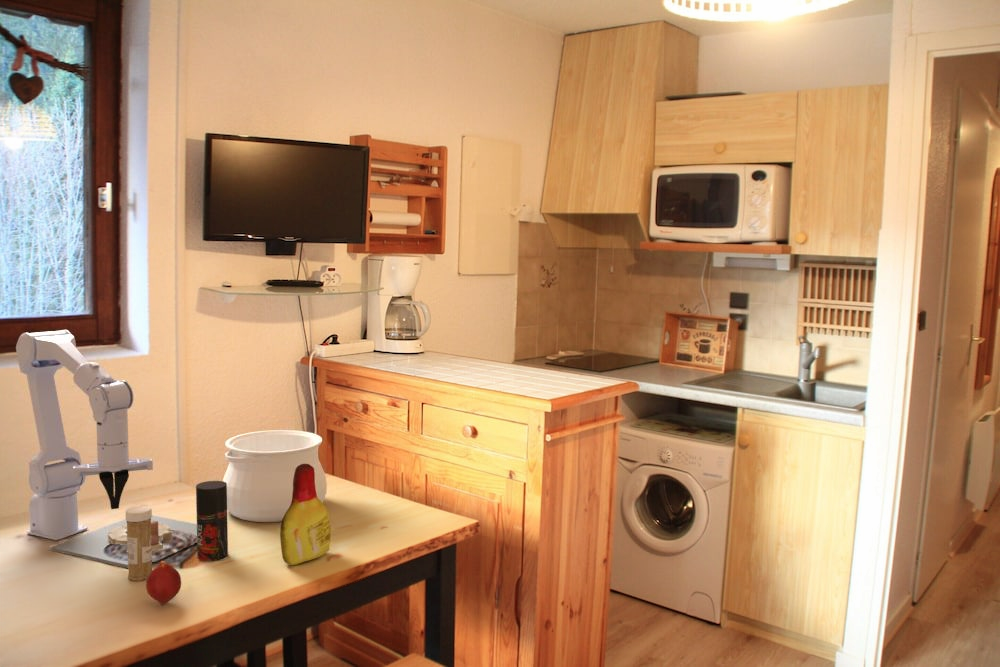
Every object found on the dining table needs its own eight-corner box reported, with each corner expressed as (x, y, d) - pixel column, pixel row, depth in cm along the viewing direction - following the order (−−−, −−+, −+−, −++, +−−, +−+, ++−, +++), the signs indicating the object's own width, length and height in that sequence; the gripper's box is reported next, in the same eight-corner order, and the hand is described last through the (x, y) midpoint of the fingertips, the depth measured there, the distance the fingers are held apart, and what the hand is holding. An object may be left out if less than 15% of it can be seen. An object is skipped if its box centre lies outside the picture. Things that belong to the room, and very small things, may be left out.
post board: (50, 549, 173) (49, 525, 172) (141, 515, 195) (141, 494, 194) (137, 570, 163) (136, 544, 163) (222, 531, 185) (222, 509, 185)
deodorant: (234, 553, 173) (233, 482, 171) (215, 563, 167) (214, 490, 166) (210, 549, 175) (208, 479, 173) (191, 559, 169) (189, 487, 168)
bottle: (291, 572, 164) (290, 472, 162) (270, 564, 168) (269, 466, 166) (337, 554, 173) (337, 460, 171) (317, 547, 177) (316, 455, 175)
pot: (283, 487, 219) (283, 424, 217) (349, 506, 205) (349, 438, 203) (198, 511, 198) (196, 442, 197) (264, 534, 184) (263, 460, 182)
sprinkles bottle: (155, 578, 160) (153, 509, 158) (129, 583, 157) (127, 513, 156) (150, 570, 164) (148, 503, 162) (125, 574, 161) (123, 507, 159)
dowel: (161, 546, 174) (160, 533, 174) (167, 543, 176) (167, 530, 176) (167, 547, 174) (167, 534, 173) (174, 544, 175) (173, 531, 175)
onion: (152, 597, 152) (151, 554, 151) (185, 596, 152) (184, 554, 151) (141, 611, 146) (140, 567, 145) (176, 610, 146) (175, 566, 145)
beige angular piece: (103, 534, 180) (102, 508, 179) (159, 523, 187) (158, 499, 186) (124, 558, 167) (123, 531, 166) (183, 546, 174) (183, 520, 173)
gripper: (73, 450, 162) (75, 518, 163) (153, 442, 168) (155, 508, 170) (71, 442, 168) (74, 507, 169) (149, 435, 175) (151, 498, 176)
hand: (114, 507), depth 170 cm, fingers closed
